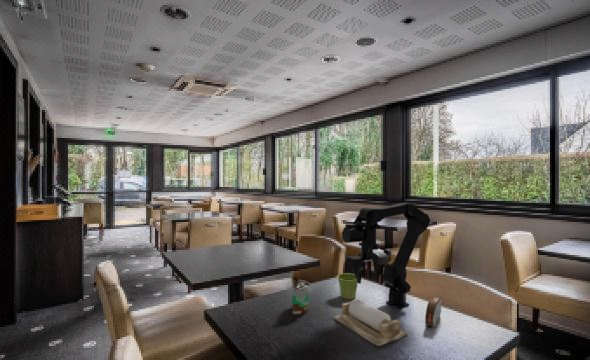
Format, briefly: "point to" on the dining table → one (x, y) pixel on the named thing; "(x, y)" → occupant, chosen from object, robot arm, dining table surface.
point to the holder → (385, 335)
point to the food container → (301, 298)
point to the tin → (433, 311)
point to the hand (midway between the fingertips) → (368, 281)
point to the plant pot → (347, 285)
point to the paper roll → (368, 314)
